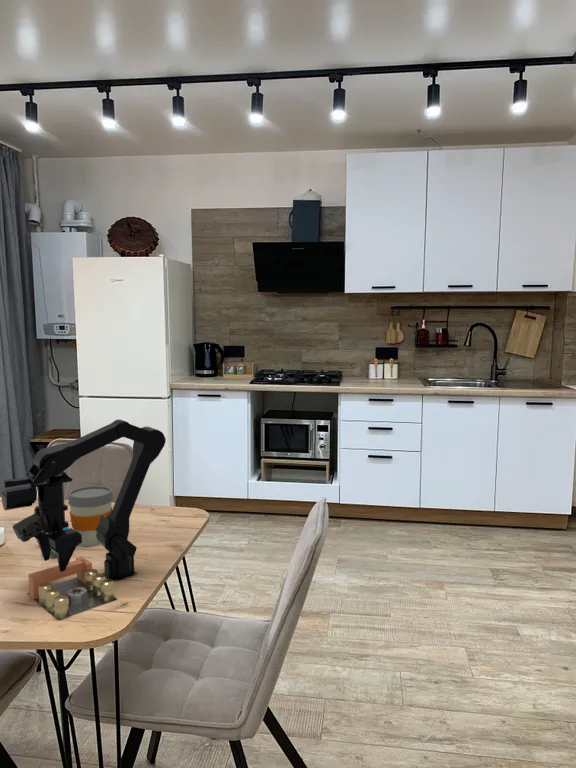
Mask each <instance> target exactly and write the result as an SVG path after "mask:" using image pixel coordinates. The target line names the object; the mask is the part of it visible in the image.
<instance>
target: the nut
mask: <svg viewBox="0 0 576 768" xmlns="http://www.w3.org/2000/svg"><path fill="white" fill-rule="evenodd" d="M66 595H67V596H68V597H69V604H70V605H77V604H82V603H83V602H85V601H86V600H87V599H88V597H87V590H86V589H85V588H83V587H79V588H72V589H71V590H69V591H68V592H66Z"/></svg>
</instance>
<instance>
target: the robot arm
mask: <svg viewBox="0 0 576 768" xmlns="http://www.w3.org/2000/svg"><path fill="white" fill-rule="evenodd" d="M121 438H125V439H129V440H131V441H132V442H133V444H132V460H131V463H130V464H129V468H128V470H127V472H126V474H125V477H124V480H123V483H122V485H121V487H120V490H119V492H118V494H117V498H116V500H115V502H114V504H113V507H112V511H111V513H110V514H109V515H108V516H107V517H105V516H103V515H102V516H101V518H100V522H99V525H98V527H97V528H96V529H95V530H96V531H97V534H96V538H97V540H98V542H99V543H100V545H101V546H102V547H104V549H105V550H106V551H107V553H105V560H104V561H103V564H104V566H103V567H104V572H103V573H102V574H104V575H105V578H108V579H111V580H113V581H114V582H119V581H121V580H123V579H127V578H129V577H132V576H136V575H138V572H136V571H135V554H136V552H137V546H136V545H135V544H133V543H132V542H131V541H130V540H128V539H129V534H130V517H131V515H132V513H133V512H132V511H133V510H134V507H135V505H136V502H137V499H138V496H139V494H140V491H141V488H142V486H143V484H144V481H145V478H146V476H147V473H148V470H149V468H150V466H151V464H152V463H153V462H154V461H155V460H156V459H157V458H158V457H159V455H160V454H161V452H162V450H163V448H164V447H165V444H166V442H167V440H166V436H165V435H164V433H163V432H162V431H161V430H159V429H157V428H154V427H151V426H142V427H139V426H136V425H134V424H132V423H131V424H130V423H129V422H128V421H125V420H123V419H115V420H114V421H112V422H110V423H108V424H107V425H105V426H102V427H100V428H98V429H96V430H94V431H92V432H89V433H87V434H85V435H83V436H80V437H78V438H76V439H74V440H73V441H69V442H66V443H60V444H59V443H58V444H55V445H51V446H47V447H44V448H41V449H40V450H38V451H37V452H36V453H35V456H34V458H33V463H32V465H31V466H30V468H28V469H29V470H28V471H27V472H26V473H25V477H20V478H13V479H11V478H8V479H3V481H2V487H1V488H2V489H1V491H2V492H0V495H1V496H0V497H1V503H2V507H3V510H4V511H9V510H16V509H21V508H27V507H32V506H33V504H35V503H36V502H37V504H38V505H37V506H35V508H34V510H33V511H34V513H33V514H32V515H31V514H30V515H29V516H26V517H25V518H23V519H22V520H20V521H18V522H17V523H16V522H15V524H13V525H12V530H13V531H14V533H15V535H16V538H17V539H18V540H20V541H21V542H22V543H26V542H29V541H30V540H31V539H32V538H34V539H36V541H37V544H38V547H39V550H40V552H41V554H42V555H41V556H42V558H43V560H44V561H49V560H50V557H51V553H52V551H51V550H52V549H53V550H54V551H55V552H56V559H57V566H58V565H59V570H60V572H63V571H65V570H66V567H67V565H68V563H69V562H71V561H70V560H71V558H72V556H73V554H74V552H75V550H76V548H77V547H78V546H79V544H80V543H82V534H80V533H79V532H77V531H76V530H74V529H73V528H72V527H70V528H69V524H70V523H69V521H66V511H68V510H69V508H68V505H67V504H65V488H64V483H65V484H66V483H70V482H72V481H73V478H72V477H71V476H69V475H68V473H66V472H65V471H66V470H68V469H69V468H70V467H71V466H73V464H74V463H75V462H76V461H77V460H79V459H80V458H82V457H84V456H86V455H89V454H91V453H92V452H95V451H97V450H99V449H101V448H104V446H107V445H109V444H112V443H113V442H115V441H117V440H119V439H121ZM65 527H68V528H69V529H66V530H63V528H65Z"/></svg>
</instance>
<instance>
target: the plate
mask: <svg viewBox="0 0 576 768" xmlns="http://www.w3.org/2000/svg"><path fill="white" fill-rule="evenodd" d="M104 574H105V573H104ZM104 574H103V573H100V574H99V572H98V570H97V569H95V568H92V569H90V570H87V571H85V583H83V582H82V581H80V580H79V579H77V577H74V578H71V579H68V580H63V581H61V582H57V583H54V584H53V583H52V582H47V583H44V584H41V585H39V587H38V589H39V598H37V599H32V600H33V601H35V602H36V603H37V604H38V605H39V606H40V607H42V609H44V610H45V611H46V612H47V613H49V614H50V615H51V616H52V617H53V618H54V619H55V620H57V621H58V622H59V621H61V620H64V619H68V618H70V617H73V616H76V615H78V614H81V613H84V612H87V611H89V610H92V609H95V608H98V607H101V606H103V605H106V604H109V603H113V602H115V601H118V598H117V597H115V581H113V580H112V579H109V578H108V579H106V578H107V577H106V576H105V575H104ZM79 587H83V588H85V589H86V590H87V597H88V599H87V600H86V601H85V602H83V603H82V604H77V605H70V604H69V597H68V596H67V595H66V592H68V591H69V590H71V589H72V588H79ZM25 594H26V595H28V596H29V592H26V593H25Z"/></svg>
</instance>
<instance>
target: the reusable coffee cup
mask: <svg viewBox="0 0 576 768" xmlns="http://www.w3.org/2000/svg"><path fill="white" fill-rule="evenodd" d="M113 500H114V497H113V489H112V488H111V487H108V486H103V485H102V486H99V485H97V486H96V485H94V486H84V487H80V488H75V489H73V490H71V491H69V493H68V500H67V501H68V503H67V504H68V505H69V508H70V510H69V515H70V516H69V517H70V522H71V528H72V529H74V530H76V531H77V532H79V533H80V534H82V543H80V544H79V545H78V546H79V547H84V548H85V547H96V546H99V545H101V544H100V543H99V542H98V540H97V538H96V534H97V531H96V530H95V529H96V528H97V527H98V525H99V522H100V518H101V516H102V515H103V516H105V517H107V516H108V515H109V514H110V513H111V511H112V510H113V507H112V504H113V503H112V502H113Z"/></svg>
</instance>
